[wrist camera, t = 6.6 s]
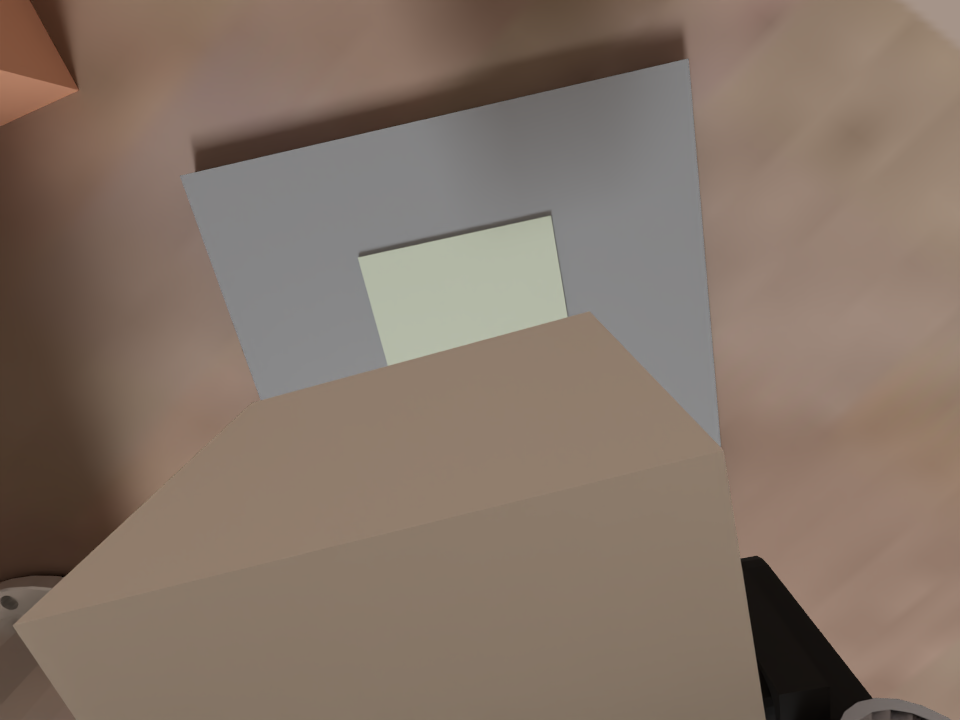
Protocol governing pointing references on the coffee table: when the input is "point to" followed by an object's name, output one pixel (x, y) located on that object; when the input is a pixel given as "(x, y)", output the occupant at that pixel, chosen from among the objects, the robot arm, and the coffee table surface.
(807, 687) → the robot arm
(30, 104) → the terracotta block
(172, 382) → the coffee table surface
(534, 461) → the cream block
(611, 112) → the build board
